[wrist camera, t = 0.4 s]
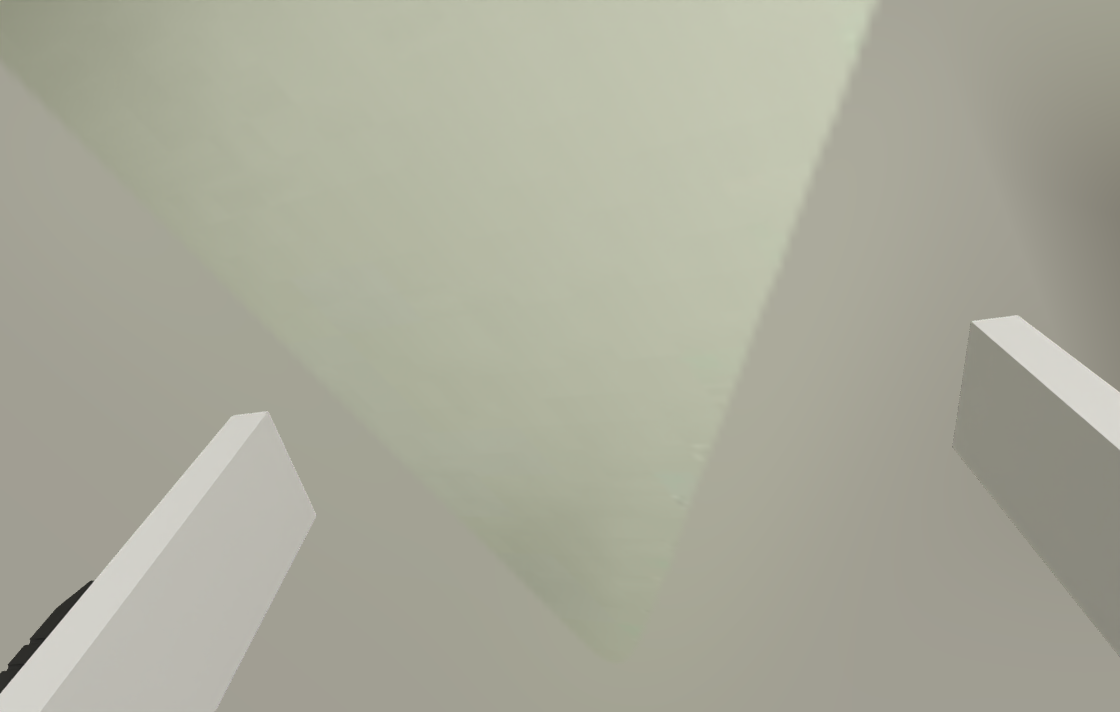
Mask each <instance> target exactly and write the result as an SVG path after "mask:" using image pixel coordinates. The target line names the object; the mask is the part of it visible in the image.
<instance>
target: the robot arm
mask: <svg viewBox="0 0 1120 712" xmlns="http://www.w3.org/2000/svg"><path fill="white" fill-rule="evenodd" d="M952 447H953V448H954V450H955V451H956V452H957V453H958V455H959V456H960V457H961V459H962V460H963V461H964V462H965V464H966V465H967V466H968V467H969V468H970V470H971V471H972V472H973V473H974V475H975V476H976V477H977V479H978V480H979V481H980V482H981V483H982V485H983V486H984V487H985V489H986V490H987V491H988V492H989V494H990V495H991V496H992V497H993V499H994V500H995V501H996V502H997V504H998V505H999V506H1000V507H1001V509H1002V510H1003V511H1004V512H1005V514H1006V515H1007V516H1008V518H1009V519H1010V520H1011V521H1012V523H1014V525H1015V526H1016V528H1017V529H1018V530H1019V531H1020V533H1021V534H1022V535H1023V536H1024V538H1025V539H1026V540H1027V541H1028V542H1029V544H1030V545H1031V546H1032V548H1033V549H1034V550H1035V551H1036V553H1037V554H1038V555H1039V556H1040V558H1041V559H1042V560H1043V561H1044V563H1045V564H1046V565H1047V566H1048V567H1049V569H1050V570H1051V571H1052V573H1053V574H1054V575H1055V576H1056V578H1057V579H1058V580H1059V581H1060V583H1061V584H1062V585H1063V586H1064V588H1065V589H1066V590H1067V591H1068V593H1069V594H1070V595H1071V596H1072V598H1073V599H1074V600H1075V601H1076V603H1077V604H1078V605H1079V607H1080V608H1081V609H1082V610H1083V612H1084V613H1085V614H1086V615H1087V617H1088V618H1089V619H1090V620H1091V622H1092V623H1093V624H1094V625H1095V627H1096V628H1097V629H1098V630H1099V632H1100V633H1101V634H1102V635H1103V637H1104V638H1105V639H1106V640H1107V642H1108V643H1109V644H1110V645H1111V647H1112V648H1113V649H1114V651H1115V652H1116V653H1117V654H1118V656H1119V657H1120V392H1118V391H1117V390H1116V389H1114V388H1113V387H1112V386H1111V385H1109V384H1108V383H1106V382H1105V381H1104V380H1103V379H1101V378H1100V377H1099V376H1097V375H1096V374H1095V373H1093V372H1092V371H1091V370H1089V369H1088V368H1087V367H1085V366H1084V365H1083V364H1081V363H1080V362H1079V361H1078V360H1076V359H1075V358H1074V357H1072V356H1071V355H1069V354H1068V353H1067V352H1066V351H1064V350H1063V349H1062V348H1060V347H1059V346H1058V345H1056V344H1055V343H1054V342H1052V341H1051V340H1050V339H1048V338H1047V337H1046V336H1044V335H1043V334H1042V333H1041V332H1039V331H1038V330H1037V329H1035V328H1034V327H1033V326H1031V325H1030V324H1028V323H1027V322H1026V321H1025V320H1023V319H1022V318H1021V317H1019V316H1018V315H1016V316H1008V317H1000V318H992V319H984V320H976V321H971V324H970V331H969V338H968V345H967V351H966V359H965V365H964V372H963V379H962V385H961V392H960V399H959V406H958V413H957V419H956V426H955V433H954V440H953V446H952ZM315 517H316V513H315V512H314V509H313V507H312V505H311V502H310V500H309V498H308V496H307V494H306V492H305V489H304V487H303V485H302V483H301V481H300V479H299V476H298V474H297V472H296V470H295V468H294V466H293V464H292V462H291V459H290V457H289V455H288V453H287V451H286V449H285V446H284V444H283V442H282V440H281V438H280V435H279V433H278V431H277V429H276V427H275V425H274V422H273V420H272V418H271V416H270V414H269V412H268V411H266V412H258V413H249V414H243V415H234V416H232V417H231V418H230V419H229V420H228V421H227V423H226V424H225V425H224V426H223V427H222V429H221V430H220V431H219V432H218V433H217V435H216V436H215V437H214V438H213V439H212V441H211V442H210V443H209V444H208V445H207V447H206V448H205V449H204V450H203V451H202V453H201V454H200V455H199V456H198V457H197V459H196V460H195V461H194V462H193V463H192V465H191V466H190V467H189V468H188V469H187V471H186V472H185V473H184V474H183V475H182V476H181V478H180V479H179V480H178V481H177V483H176V484H175V485H174V486H173V487H172V488H171V490H170V491H169V492H168V493H167V494H166V496H165V497H164V498H163V499H162V500H161V502H160V503H159V504H158V505H157V506H156V508H155V509H154V510H153V511H152V512H151V514H150V515H149V516H148V517H147V519H146V520H145V521H144V522H143V523H142V524H141V526H140V527H139V528H138V529H137V530H136V532H135V533H134V534H133V535H132V536H131V538H130V539H129V540H128V541H127V542H126V544H125V545H124V546H123V547H122V548H121V550H120V551H119V552H118V553H117V554H116V556H115V557H114V558H113V559H112V560H111V562H110V563H109V564H108V565H107V567H106V568H105V569H104V570H103V571H102V572H101V574H100V575H99V576H98V577H97V578H96V580H94V581H90V582H88V583H87V584H86V585H85V586H84V587H82V588H81V589H80V590H78V591H77V592H76V593H75V594H73V595H72V596H71V597H70V598H69V599H67V600H66V601H65V602H64V603H62V604H61V605H60V606H59V607H58V608H56V609H55V610H54V612H53V613H52V614H51V615H50V616H49V618H48V619H47V620H46V621H45V622H44V623H43V624H42V626H41V627H40V628H39V629H38V630H37V631H36V633H35V634H34V635H33V636H32V637H31V638H30V644H29V645H25V646H23V648H22V649H21V650H20V651H19V652H18V653H17V655H16V656H15V657H14V658H13V659H12V660H11V662H10V663H9V664H8V670H7V671H2V672H1V673H0V712H215V711H216V709H217V707H218V705H219V703H220V702H221V699H222V697H223V696H224V694H225V692H226V690H227V688H228V686H229V684H230V682H231V680H232V678H233V676H234V674H235V672H236V671H237V668H238V667H239V665H240V663H241V661H242V659H243V657H244V655H245V653H246V651H247V649H248V647H249V645H250V643H251V641H252V639H253V638H254V636H255V634H256V632H257V630H258V628H259V626H260V624H261V622H262V620H263V618H264V616H265V614H266V612H267V610H268V608H269V606H270V605H271V603H272V601H273V599H274V597H275V595H276V593H277V591H278V589H279V587H280V585H281V583H282V581H283V579H284V577H285V575H286V574H287V572H288V570H289V568H290V566H291V564H292V562H293V560H294V558H295V556H296V554H297V552H298V550H299V548H300V546H301V545H302V543H303V541H304V539H305V537H306V535H307V533H308V531H309V529H310V527H311V525H312V523H313V521H314V519H315Z"/></svg>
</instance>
